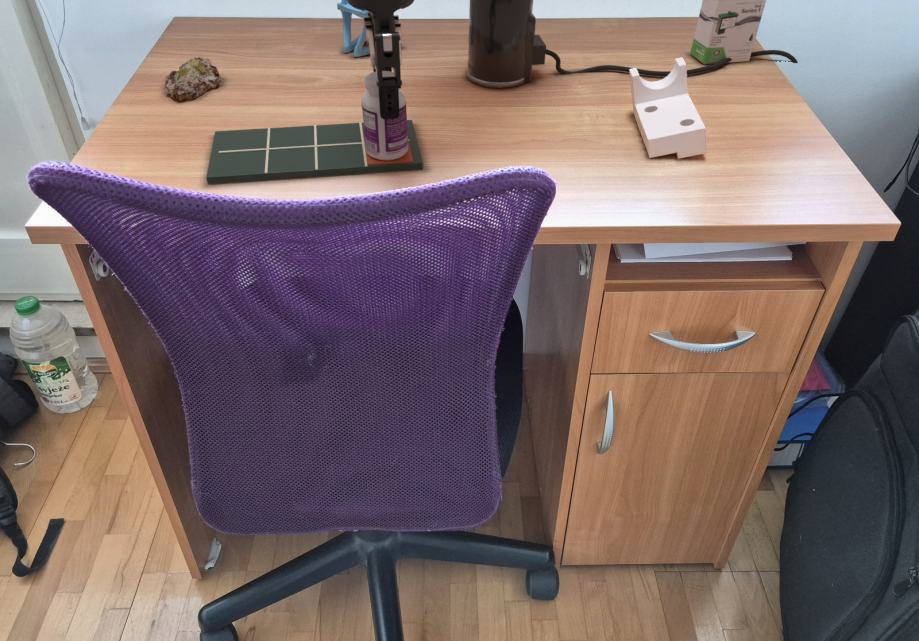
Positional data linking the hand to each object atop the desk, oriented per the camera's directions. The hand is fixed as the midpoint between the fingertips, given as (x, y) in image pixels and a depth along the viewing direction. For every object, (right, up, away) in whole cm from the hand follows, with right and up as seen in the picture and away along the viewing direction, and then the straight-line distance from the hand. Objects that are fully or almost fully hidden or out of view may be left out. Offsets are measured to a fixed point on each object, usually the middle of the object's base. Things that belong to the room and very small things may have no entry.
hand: (386, 101), depth 87 cm
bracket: (+36, -1, +12) cm, 38 cm away
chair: (-6, +19, +33) cm, 39 cm away
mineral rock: (-31, +8, +21) cm, 38 cm away
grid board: (-10, -5, +6) cm, 12 cm away
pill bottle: (0, -5, +5) cm, 7 cm away
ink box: (+52, +17, +33) cm, 64 cm away
